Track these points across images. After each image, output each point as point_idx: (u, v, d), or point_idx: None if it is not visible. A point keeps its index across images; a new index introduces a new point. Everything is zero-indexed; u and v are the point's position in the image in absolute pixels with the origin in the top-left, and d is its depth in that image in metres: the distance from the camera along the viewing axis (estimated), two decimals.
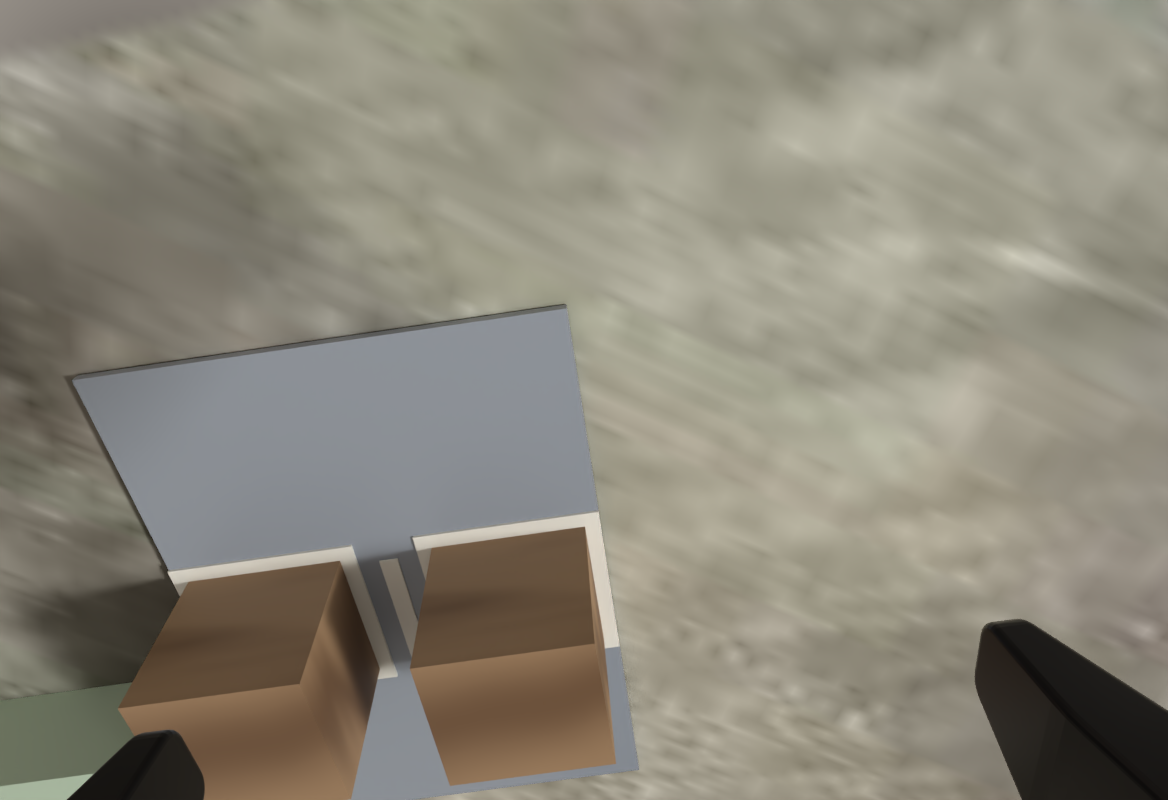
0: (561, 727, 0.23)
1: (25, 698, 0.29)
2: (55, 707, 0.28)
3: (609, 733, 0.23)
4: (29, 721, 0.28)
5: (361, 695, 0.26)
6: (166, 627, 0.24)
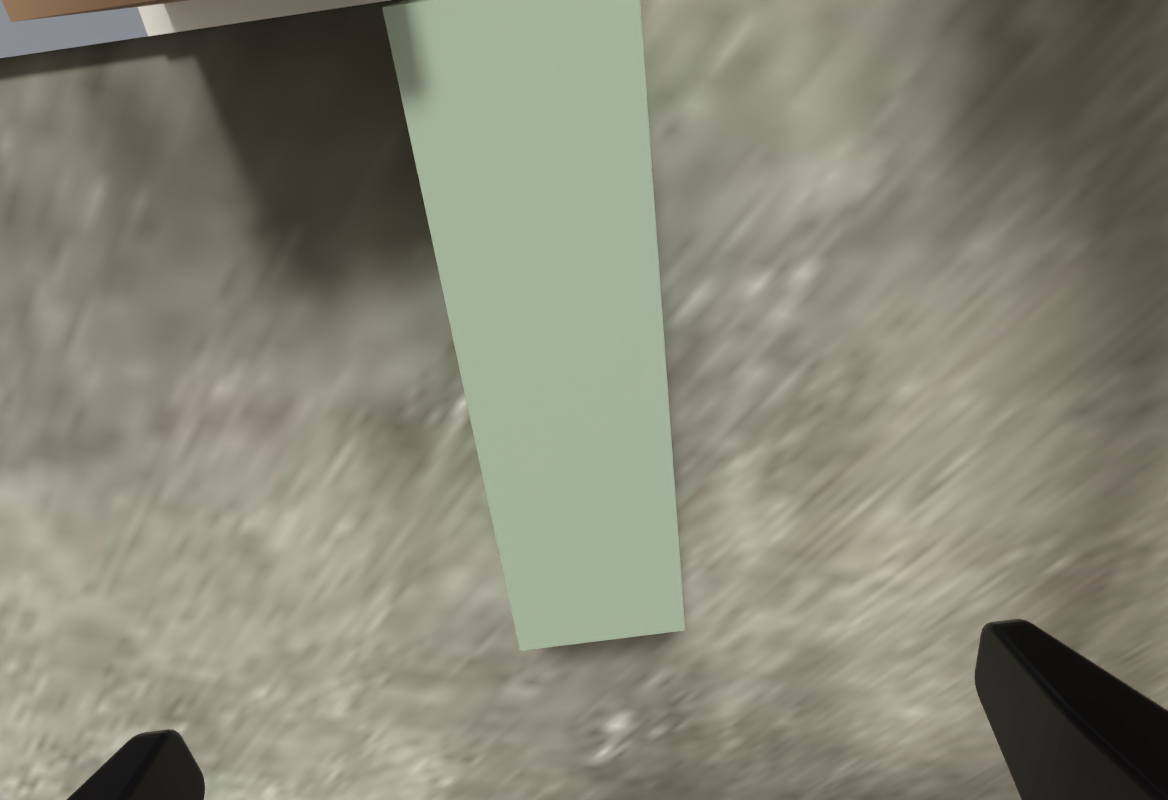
0: None
1: None
2: None
3: None
4: None
5: None
6: None
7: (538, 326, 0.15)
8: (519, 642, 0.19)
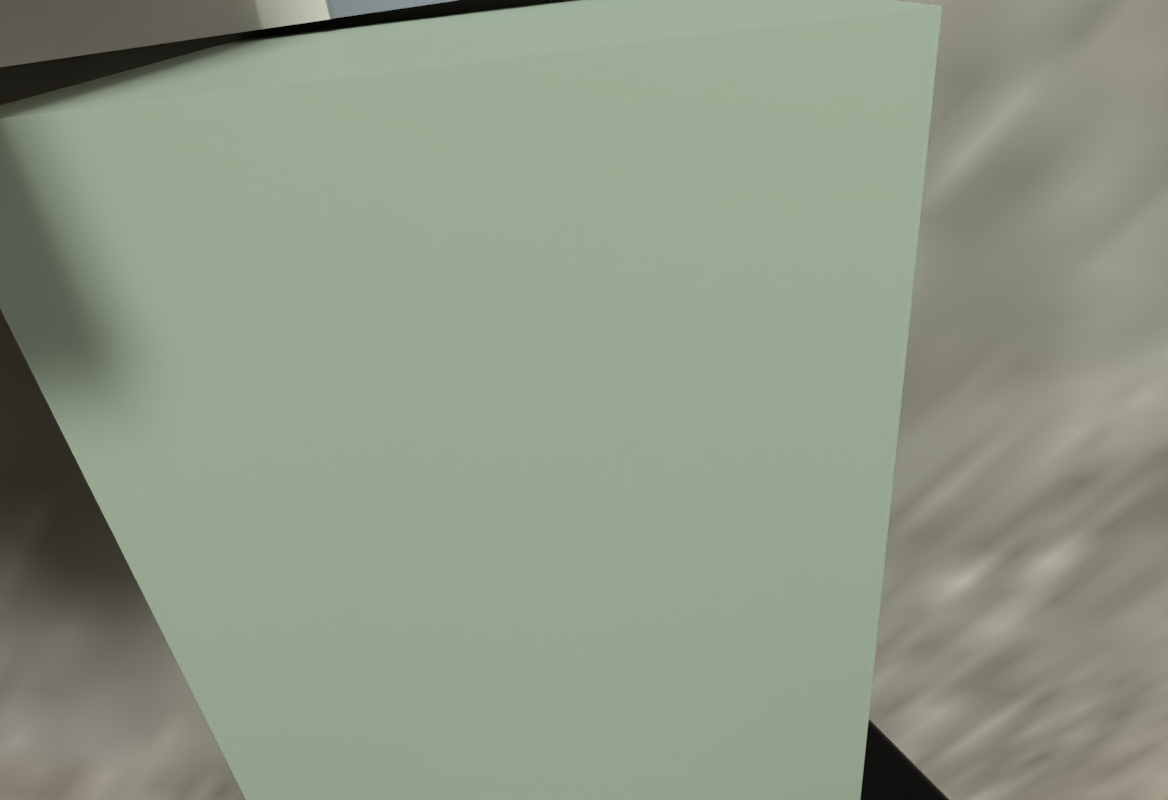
0: None
1: None
2: None
3: None
4: None
5: None
6: None
7: None
8: None
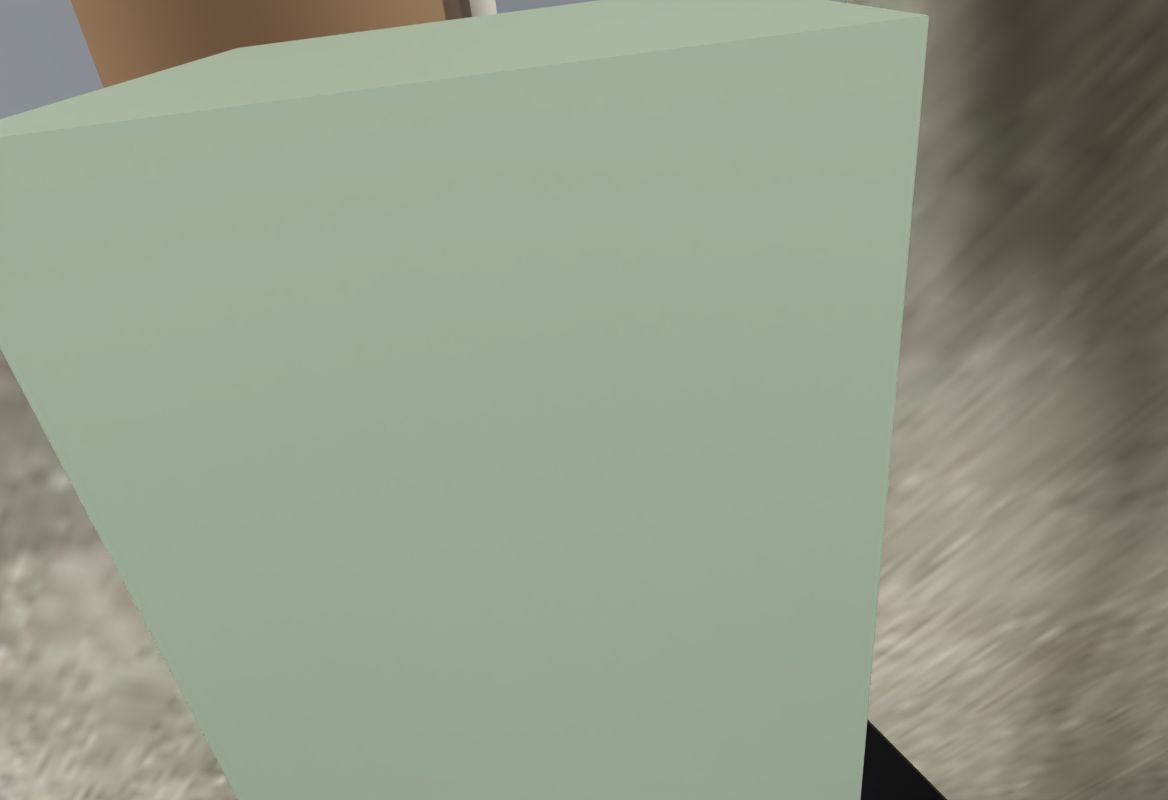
0: None
1: None
2: None
3: None
4: None
5: None
6: None
7: None
8: None
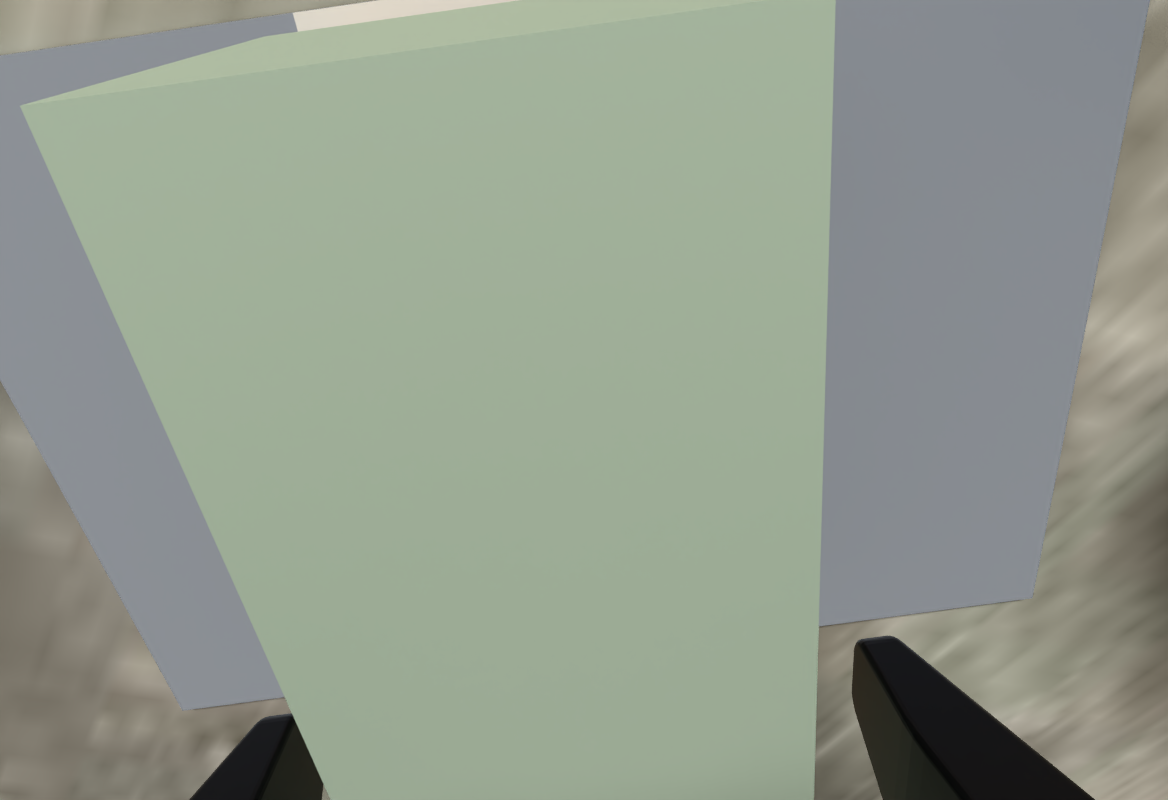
0: None
1: None
2: None
3: None
4: None
5: None
6: None
7: (530, 790, 0.07)
8: None
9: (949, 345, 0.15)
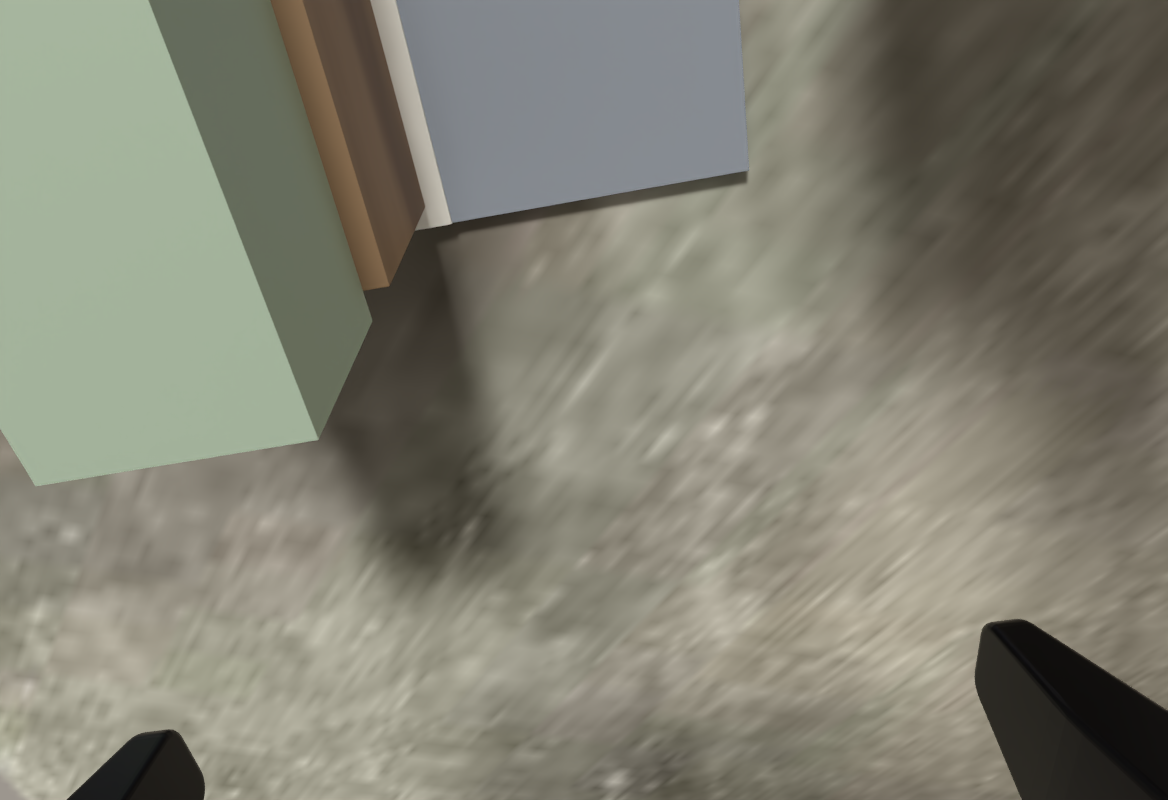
0: None
1: None
2: None
3: None
4: None
5: None
6: None
7: None
8: (26, 469, 0.11)
9: None
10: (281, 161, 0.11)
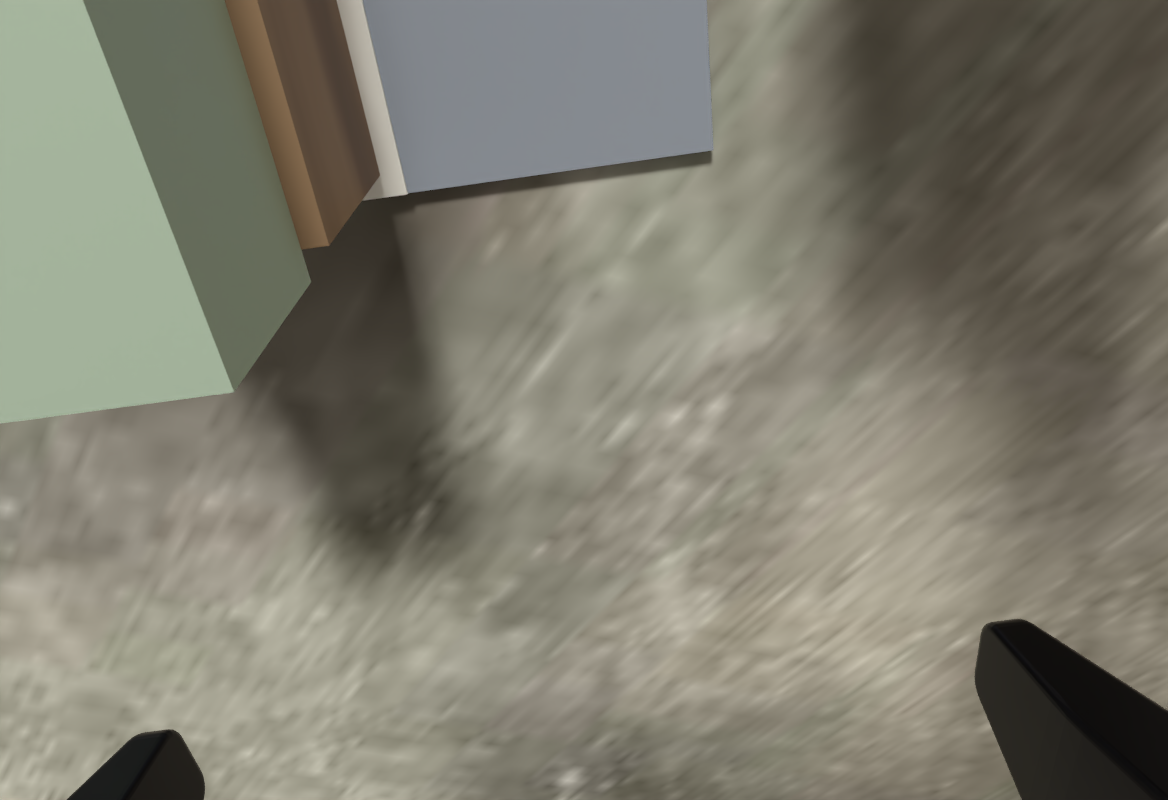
0: None
1: None
2: None
3: None
4: None
5: None
6: None
7: None
8: None
9: None
10: (207, 99, 0.11)
